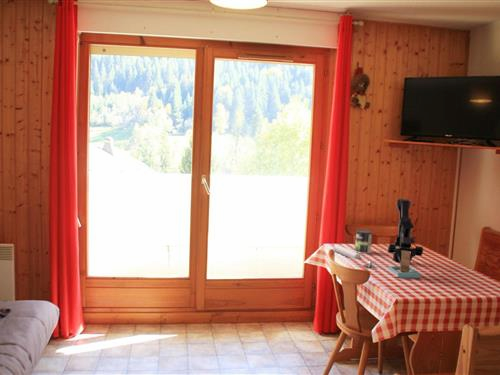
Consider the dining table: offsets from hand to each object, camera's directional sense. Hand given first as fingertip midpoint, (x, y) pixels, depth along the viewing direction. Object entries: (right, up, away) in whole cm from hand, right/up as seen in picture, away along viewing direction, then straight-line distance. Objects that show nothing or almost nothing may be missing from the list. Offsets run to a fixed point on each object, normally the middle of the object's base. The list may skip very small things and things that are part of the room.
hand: (405, 262), depth 285 cm
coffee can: (-12, -1, +53) cm, 54 cm away
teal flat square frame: (0, -7, +2) cm, 8 cm away
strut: (0, -5, +2) cm, 5 cm away
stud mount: (-17, -5, +10) cm, 21 cm away
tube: (-25, -2, +40) cm, 47 cm away
